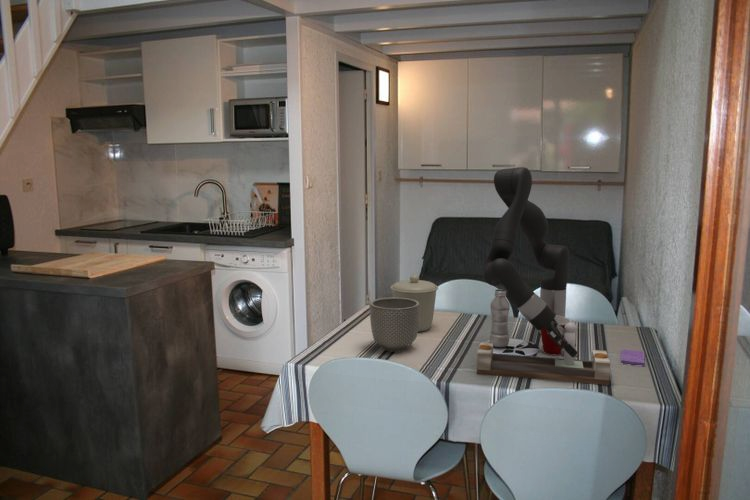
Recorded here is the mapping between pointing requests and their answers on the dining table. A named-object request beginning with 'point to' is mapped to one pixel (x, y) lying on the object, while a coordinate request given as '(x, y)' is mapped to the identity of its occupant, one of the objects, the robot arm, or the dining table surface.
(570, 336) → the carriage
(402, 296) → the canister
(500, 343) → the plastic bottle
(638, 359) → the sponges
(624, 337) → the dining table surface
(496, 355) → the rail track
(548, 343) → the plastic cup
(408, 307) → the planter
